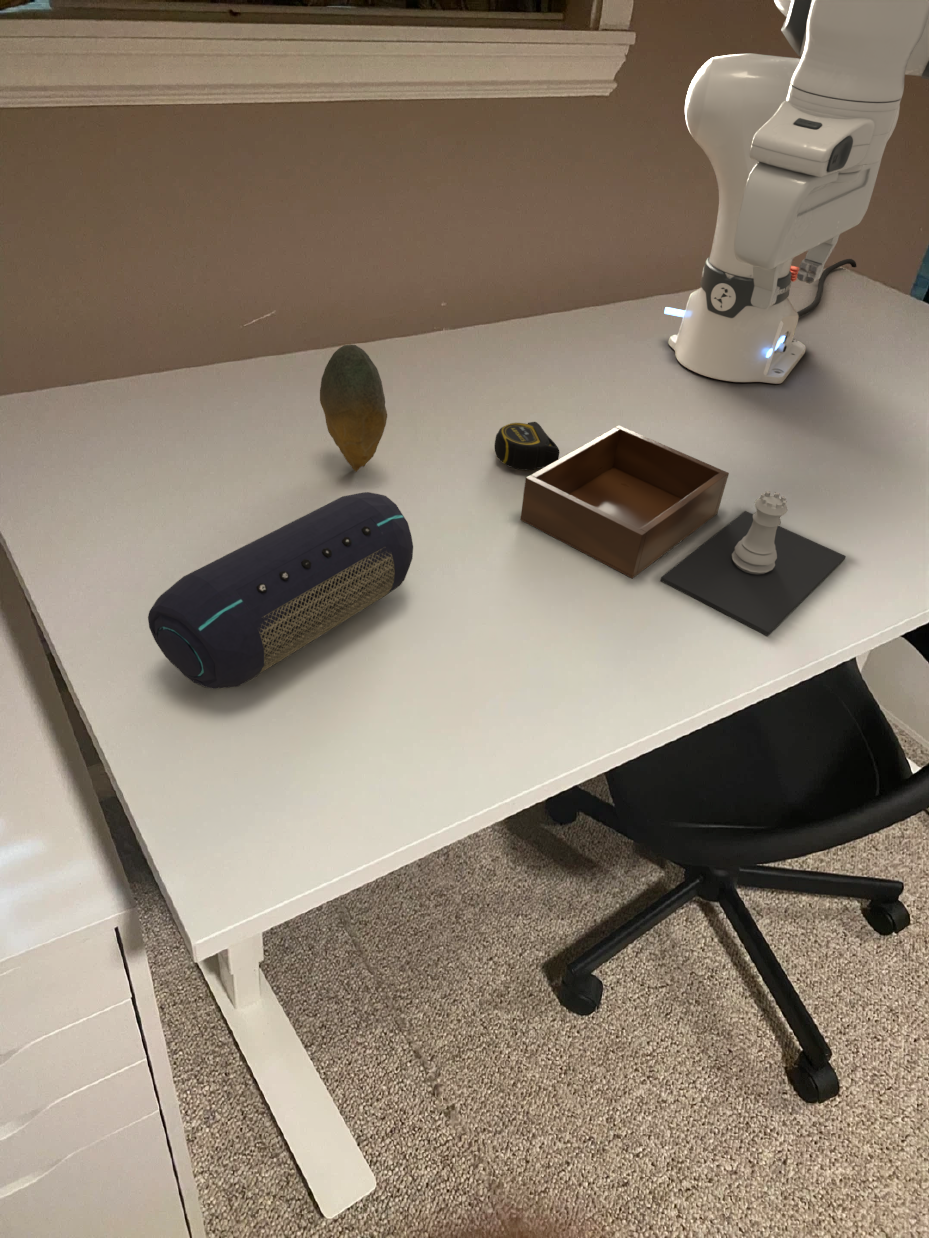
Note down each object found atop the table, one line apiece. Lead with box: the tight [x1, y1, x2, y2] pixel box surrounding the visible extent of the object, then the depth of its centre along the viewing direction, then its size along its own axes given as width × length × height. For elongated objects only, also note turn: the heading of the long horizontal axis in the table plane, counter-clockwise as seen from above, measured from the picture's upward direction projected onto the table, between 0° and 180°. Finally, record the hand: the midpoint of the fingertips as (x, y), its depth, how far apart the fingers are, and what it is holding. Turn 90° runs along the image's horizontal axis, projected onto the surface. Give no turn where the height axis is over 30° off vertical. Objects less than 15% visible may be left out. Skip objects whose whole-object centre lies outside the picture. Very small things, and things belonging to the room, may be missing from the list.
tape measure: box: [494, 421, 560, 471], centre depth 108 cm, size 7×7×4 cm
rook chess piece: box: [732, 491, 789, 575], centre depth 92 cm, size 4×4×8 cm
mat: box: [659, 510, 847, 637], centre depth 95 cm, size 18×12×1 cm, turn 138°
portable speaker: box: [147, 491, 414, 690], centre depth 80 cm, size 25×10×10 cm, turn 139°
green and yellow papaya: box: [319, 344, 388, 473], centre depth 100 cm, size 10×6×15 cm, turn 37°
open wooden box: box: [519, 425, 730, 579], centre depth 99 cm, size 18×15×5 cm
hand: (785, 292), depth 85 cm, fingers open, 8 cm apart
